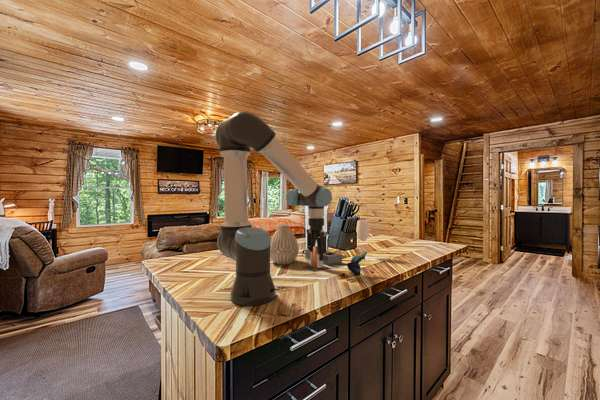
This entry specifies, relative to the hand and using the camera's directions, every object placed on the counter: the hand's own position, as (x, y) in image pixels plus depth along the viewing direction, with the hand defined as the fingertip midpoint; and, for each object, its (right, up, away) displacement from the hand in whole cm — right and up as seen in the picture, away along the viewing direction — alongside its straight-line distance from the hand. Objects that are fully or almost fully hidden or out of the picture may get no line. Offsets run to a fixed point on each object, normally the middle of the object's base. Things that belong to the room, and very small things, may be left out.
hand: (316, 265), depth 124 cm
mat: (0, -1, 0) cm, 1 cm away
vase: (-17, -1, +11) cm, 20 cm away
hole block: (+4, -1, +14) cm, 14 cm away
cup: (+28, -1, +23) cm, 36 cm away
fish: (+17, -2, -10) cm, 20 cm away
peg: (0, -1, 0) cm, 1 cm away
